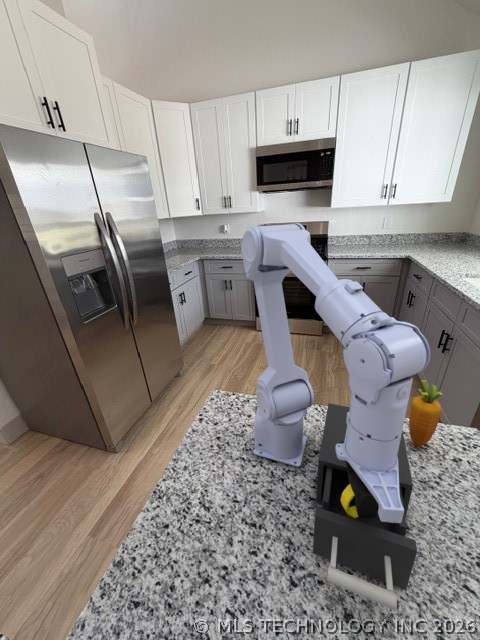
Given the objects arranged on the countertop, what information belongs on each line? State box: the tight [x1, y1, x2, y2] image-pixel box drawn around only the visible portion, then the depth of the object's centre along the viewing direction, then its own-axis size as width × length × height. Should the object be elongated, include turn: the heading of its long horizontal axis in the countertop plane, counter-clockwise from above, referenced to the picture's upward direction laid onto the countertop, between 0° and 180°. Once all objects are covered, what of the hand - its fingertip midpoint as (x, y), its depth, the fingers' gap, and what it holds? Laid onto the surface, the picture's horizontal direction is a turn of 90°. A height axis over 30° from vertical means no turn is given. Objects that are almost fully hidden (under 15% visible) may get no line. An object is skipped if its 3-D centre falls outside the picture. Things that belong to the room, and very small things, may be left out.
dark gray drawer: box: [311, 466, 418, 611], centre depth 38 cm, size 18×11×8 cm, turn 158°
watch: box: [341, 485, 358, 518], centre depth 37 cm, size 6×3×6 cm, turn 102°
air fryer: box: [315, 402, 414, 518], centre depth 48 cm, size 15×13×10 cm
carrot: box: [408, 379, 443, 449], centre depth 53 cm, size 5×5×15 cm
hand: (362, 503), depth 37 cm, fingers closed on watch, 3 cm apart
